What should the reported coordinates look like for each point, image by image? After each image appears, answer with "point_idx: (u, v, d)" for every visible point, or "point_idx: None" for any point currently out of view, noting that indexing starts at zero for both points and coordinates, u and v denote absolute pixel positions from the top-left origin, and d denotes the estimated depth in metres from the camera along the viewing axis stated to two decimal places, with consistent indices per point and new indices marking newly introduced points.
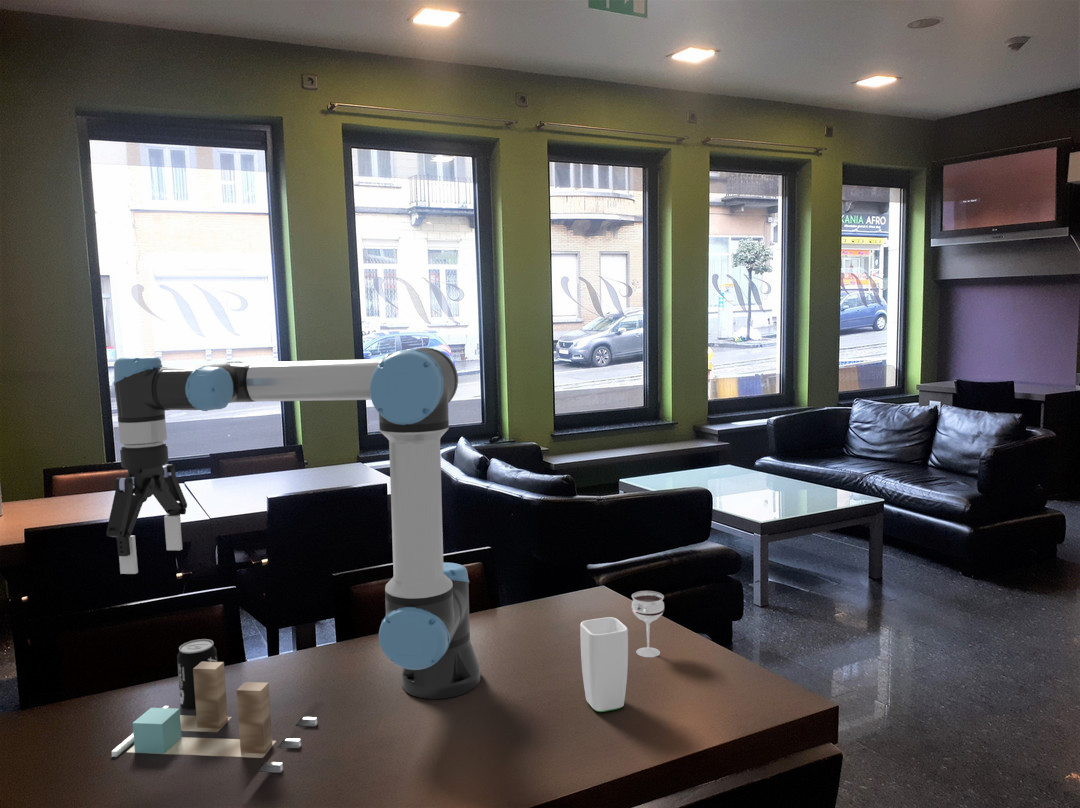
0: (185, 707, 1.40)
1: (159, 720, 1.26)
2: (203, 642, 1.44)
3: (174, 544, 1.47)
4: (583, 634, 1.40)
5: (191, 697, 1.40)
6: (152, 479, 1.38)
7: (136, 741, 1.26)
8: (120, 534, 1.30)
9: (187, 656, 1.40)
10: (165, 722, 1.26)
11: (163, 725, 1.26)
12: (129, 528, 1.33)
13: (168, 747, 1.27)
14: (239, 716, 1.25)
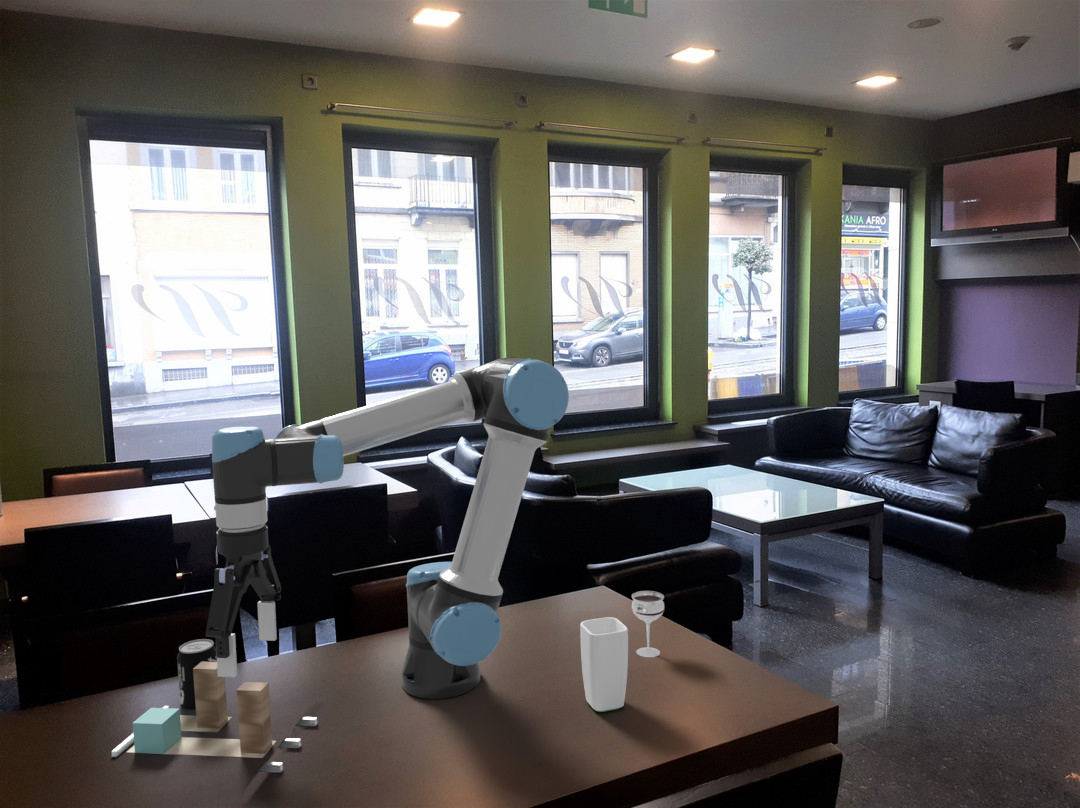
0: (185, 707, 1.40)
1: (159, 720, 1.26)
2: (203, 642, 1.44)
3: (268, 634, 1.31)
4: (583, 634, 1.40)
5: (191, 697, 1.40)
6: (252, 566, 1.22)
7: (136, 741, 1.26)
8: (221, 635, 1.14)
9: (187, 656, 1.40)
10: (165, 722, 1.26)
11: (163, 725, 1.26)
12: (230, 626, 1.17)
13: (168, 747, 1.27)
14: (239, 716, 1.25)
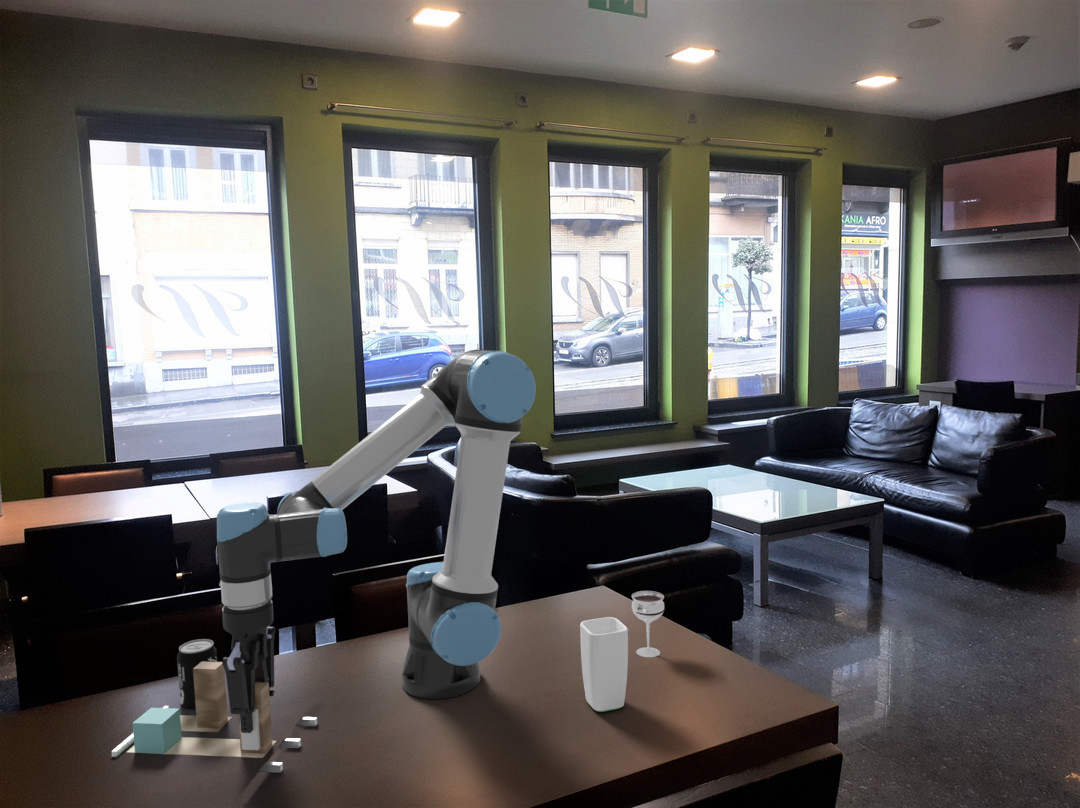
0: (185, 707, 1.40)
1: (159, 720, 1.26)
2: (203, 642, 1.44)
3: None
4: (583, 634, 1.40)
5: (191, 697, 1.40)
6: (257, 643, 1.23)
7: (136, 741, 1.26)
8: (246, 713, 1.21)
9: (187, 656, 1.40)
10: (165, 722, 1.26)
11: (163, 725, 1.26)
12: (251, 704, 1.23)
13: (168, 747, 1.27)
14: (239, 716, 1.25)
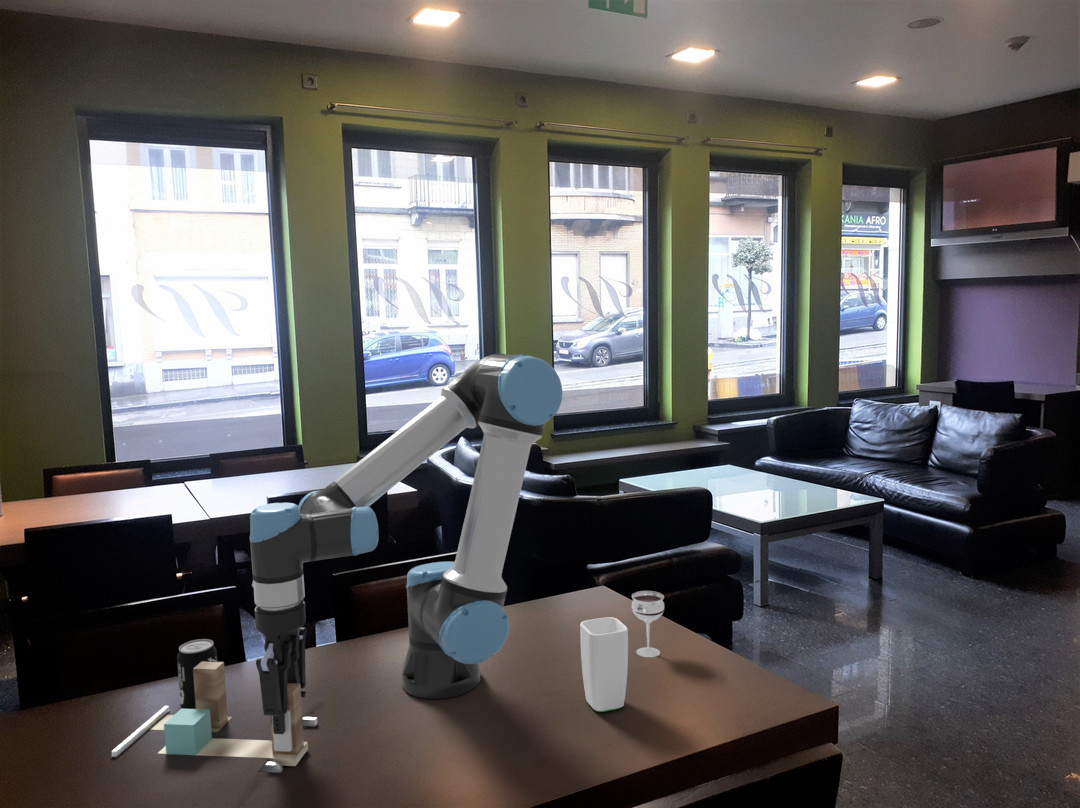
0: (185, 707, 1.40)
1: (190, 721, 1.26)
2: (203, 642, 1.44)
3: None
4: (583, 634, 1.40)
5: (191, 697, 1.40)
6: (289, 644, 1.23)
7: (167, 742, 1.26)
8: (279, 714, 1.20)
9: (187, 656, 1.40)
10: (196, 723, 1.26)
11: (195, 726, 1.25)
12: (284, 705, 1.22)
13: (199, 748, 1.27)
14: (271, 717, 1.24)
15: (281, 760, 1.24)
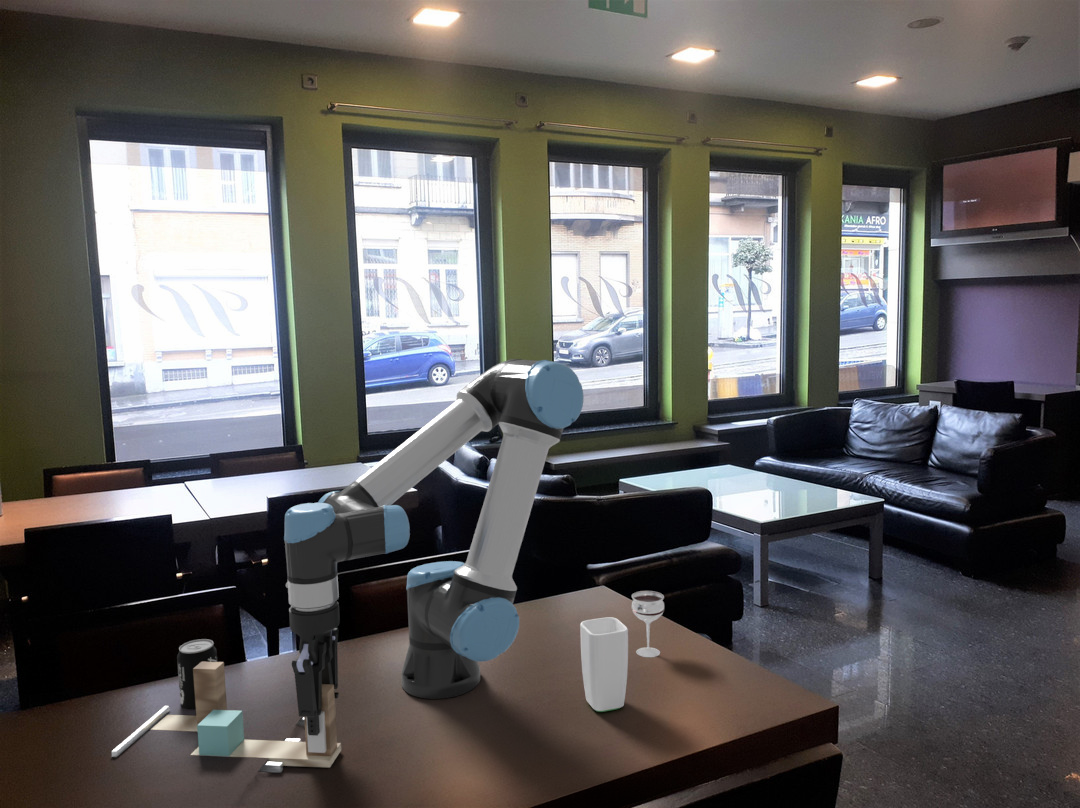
0: (185, 707, 1.40)
1: (223, 722, 1.25)
2: (203, 642, 1.44)
3: None
4: (583, 634, 1.40)
5: (191, 697, 1.40)
6: (324, 644, 1.22)
7: (200, 743, 1.25)
8: (314, 715, 1.20)
9: (187, 656, 1.40)
10: (229, 724, 1.25)
11: (228, 727, 1.25)
12: (319, 706, 1.22)
13: (233, 749, 1.26)
14: (305, 718, 1.24)
15: (315, 762, 1.23)
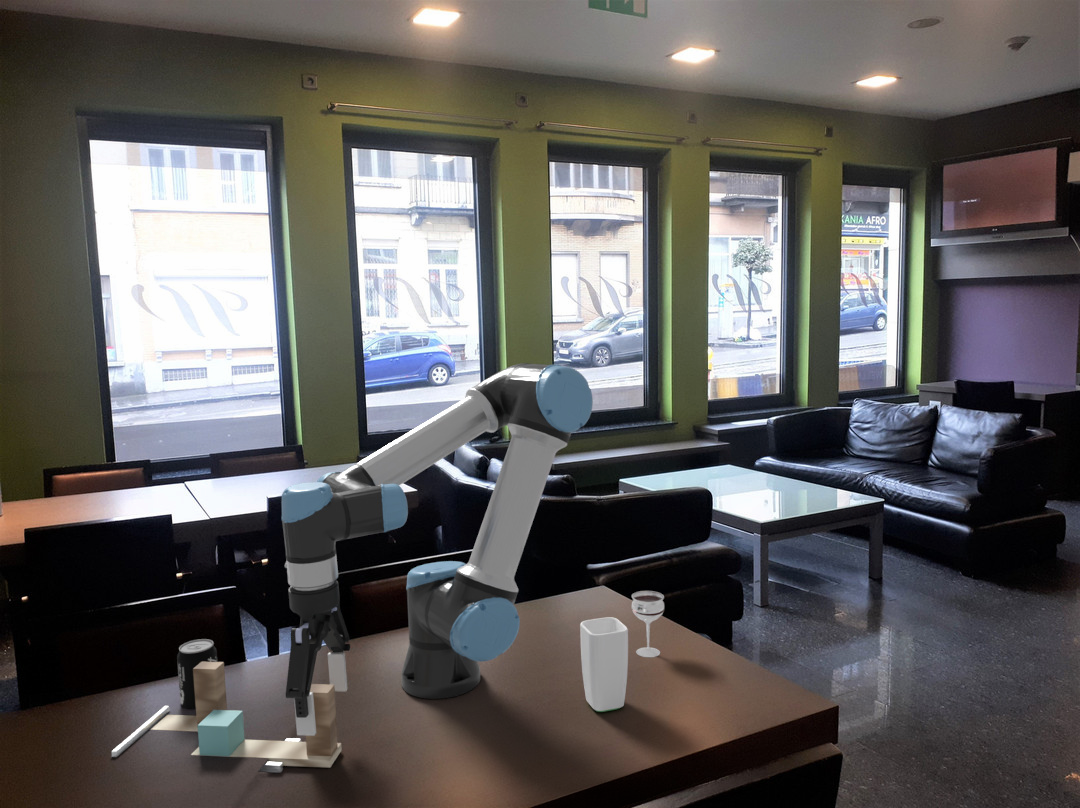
0: (185, 707, 1.40)
1: (224, 722, 1.25)
2: (203, 642, 1.44)
3: (339, 685, 1.31)
4: (583, 634, 1.40)
5: (191, 697, 1.40)
6: (325, 623, 1.22)
7: (201, 743, 1.25)
8: (301, 696, 1.14)
9: (187, 656, 1.40)
10: (230, 724, 1.25)
11: (228, 727, 1.25)
12: (308, 686, 1.17)
13: (233, 749, 1.26)
14: None
15: (315, 762, 1.23)
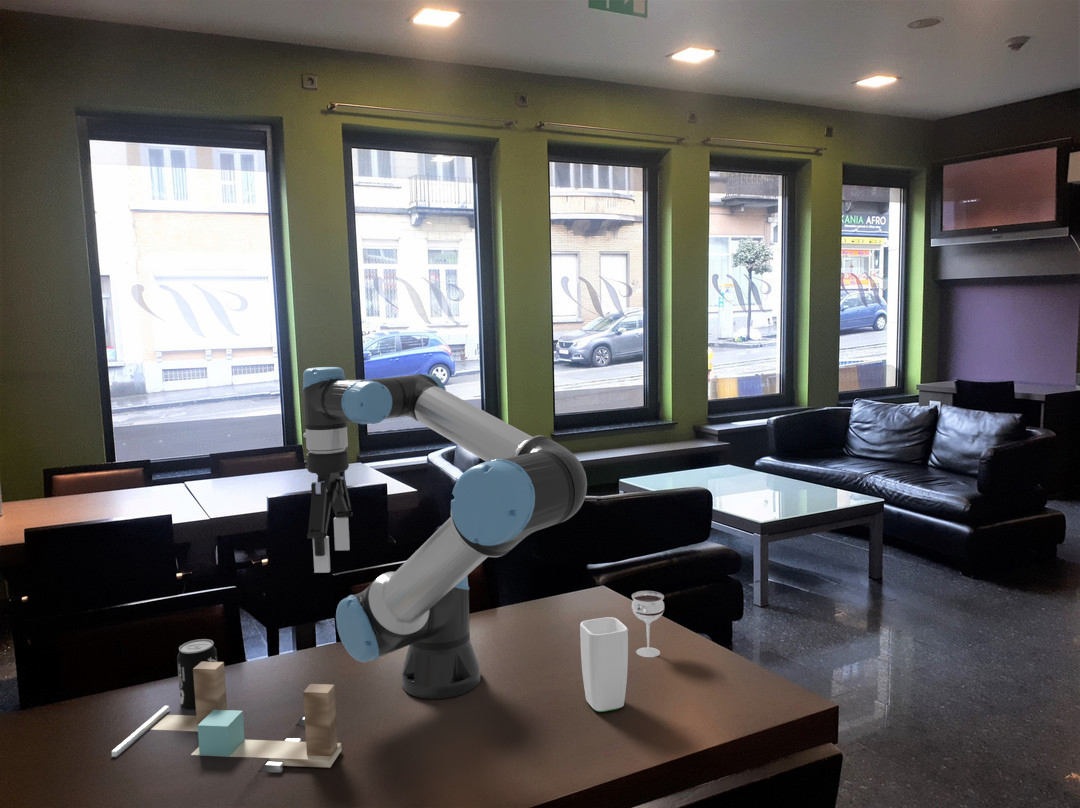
0: (185, 707, 1.40)
1: (224, 722, 1.25)
2: (203, 642, 1.44)
3: (343, 545, 1.55)
4: (583, 634, 1.40)
5: (191, 697, 1.40)
6: (337, 483, 1.46)
7: (201, 743, 1.25)
8: (321, 535, 1.38)
9: (187, 656, 1.40)
10: (230, 724, 1.25)
11: (228, 727, 1.25)
12: (325, 529, 1.41)
13: (233, 749, 1.26)
14: (305, 718, 1.24)
15: (315, 762, 1.23)
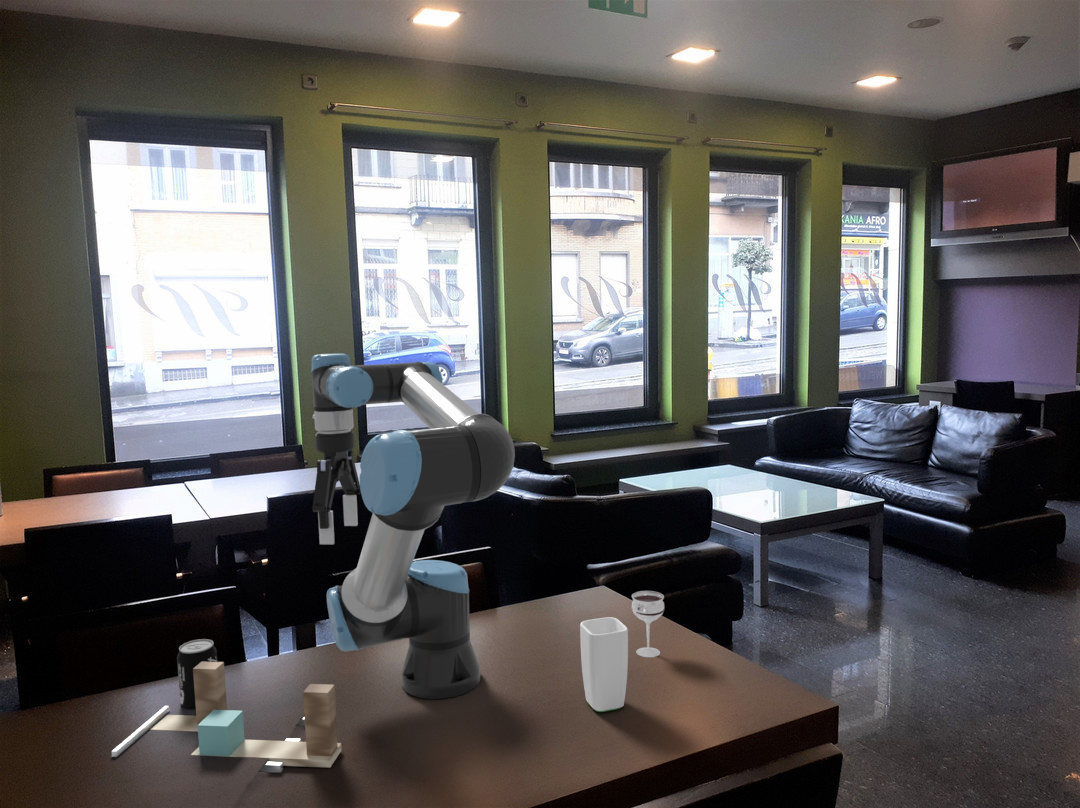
0: (185, 707, 1.40)
1: (224, 722, 1.25)
2: (203, 642, 1.44)
3: (351, 521, 1.66)
4: (583, 634, 1.40)
5: (191, 697, 1.40)
6: (343, 462, 1.57)
7: (201, 743, 1.25)
8: (324, 509, 1.49)
9: (187, 656, 1.40)
10: (230, 724, 1.25)
11: (228, 727, 1.25)
12: (329, 504, 1.51)
13: (233, 749, 1.26)
14: (305, 718, 1.24)
15: (315, 762, 1.23)
